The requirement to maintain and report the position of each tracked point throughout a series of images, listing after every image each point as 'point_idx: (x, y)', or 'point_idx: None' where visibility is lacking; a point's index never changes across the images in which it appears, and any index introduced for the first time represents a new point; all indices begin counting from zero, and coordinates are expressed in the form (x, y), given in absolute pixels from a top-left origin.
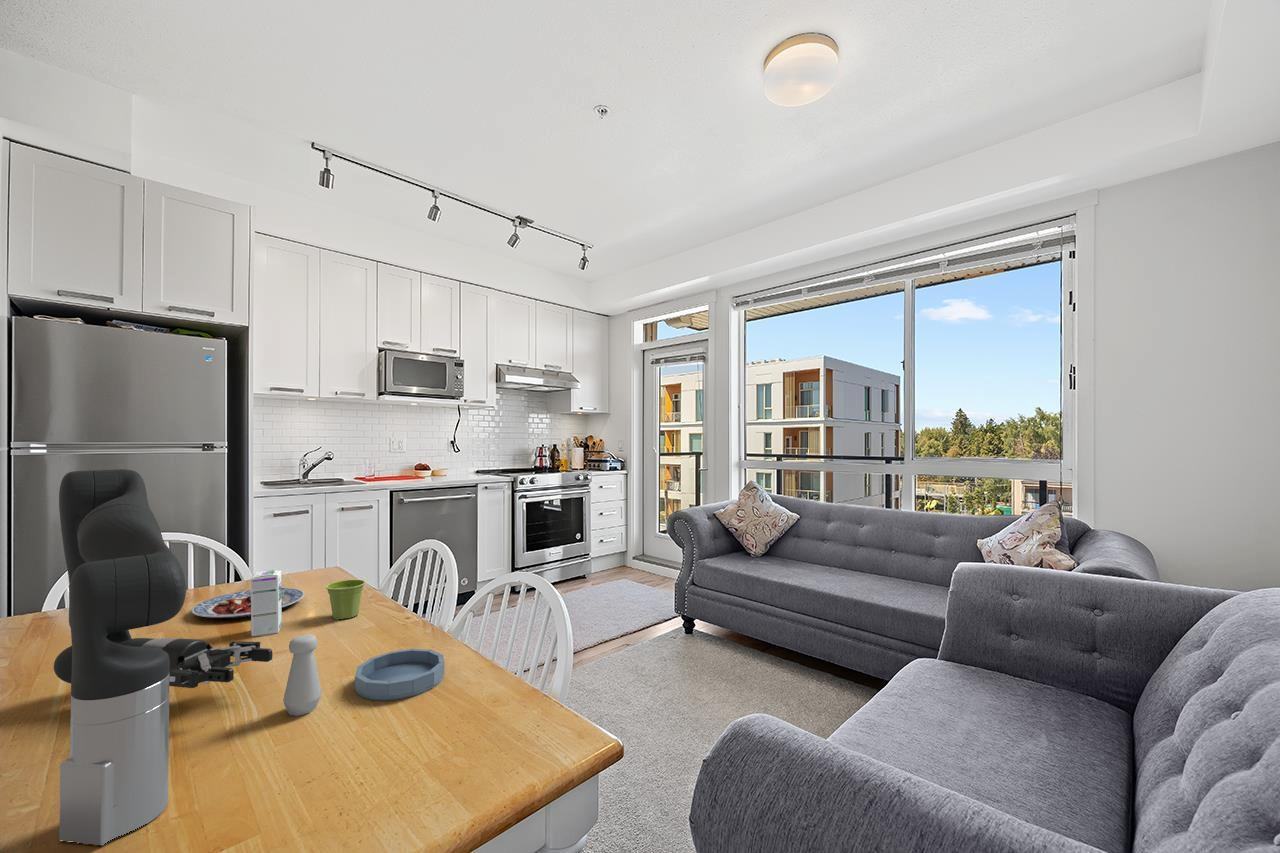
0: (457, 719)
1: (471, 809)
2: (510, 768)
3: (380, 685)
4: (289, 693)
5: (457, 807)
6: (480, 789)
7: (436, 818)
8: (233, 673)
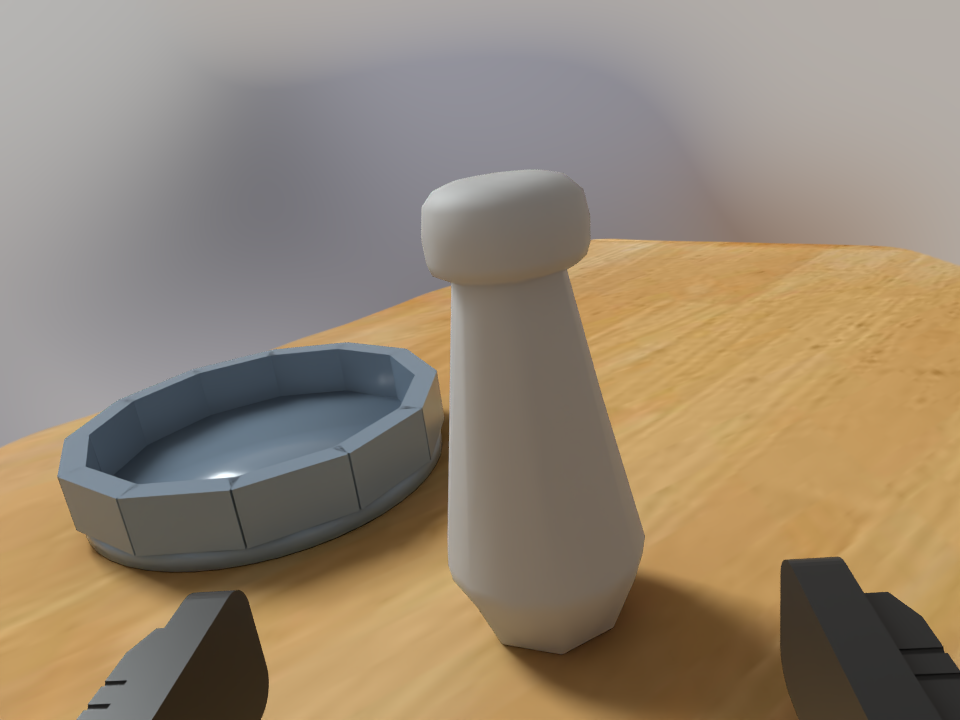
0: None
1: (815, 253)
2: (691, 260)
3: (434, 390)
4: (627, 491)
5: (822, 258)
6: (764, 260)
7: (863, 260)
8: (782, 598)
